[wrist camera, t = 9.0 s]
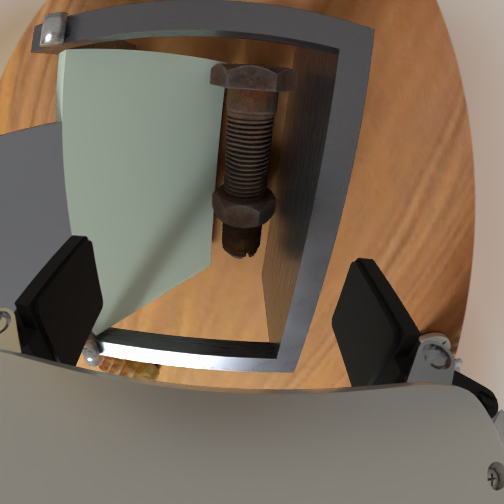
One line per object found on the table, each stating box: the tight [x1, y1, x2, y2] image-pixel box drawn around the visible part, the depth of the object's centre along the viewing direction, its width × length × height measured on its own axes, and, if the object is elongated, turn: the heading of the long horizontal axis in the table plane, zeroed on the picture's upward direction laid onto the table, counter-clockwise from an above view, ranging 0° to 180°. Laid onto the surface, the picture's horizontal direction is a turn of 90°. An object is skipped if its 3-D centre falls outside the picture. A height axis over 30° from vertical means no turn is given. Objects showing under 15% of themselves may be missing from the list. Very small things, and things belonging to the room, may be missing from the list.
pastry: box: [99, 355, 159, 381], centre depth 35 cm, size 9×7×4 cm
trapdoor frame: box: [31, 0, 375, 372], centre depth 18 cm, size 16×21×13 cm
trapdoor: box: [0, 49, 226, 335], centre depth 16 cm, size 21×17×6 cm
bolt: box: [210, 63, 299, 259], centre depth 21 cm, size 6×5×15 cm
